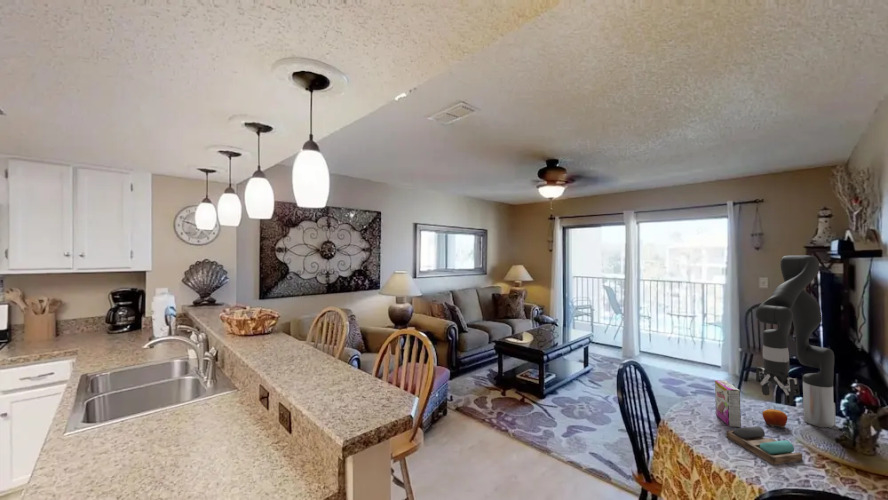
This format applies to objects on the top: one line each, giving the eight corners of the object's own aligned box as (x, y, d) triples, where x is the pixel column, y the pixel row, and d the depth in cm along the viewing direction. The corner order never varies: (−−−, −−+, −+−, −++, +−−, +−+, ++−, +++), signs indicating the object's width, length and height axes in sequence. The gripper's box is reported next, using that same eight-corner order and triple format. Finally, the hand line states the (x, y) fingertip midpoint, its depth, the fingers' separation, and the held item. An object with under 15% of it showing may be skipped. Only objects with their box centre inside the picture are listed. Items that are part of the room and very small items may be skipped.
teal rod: (770, 457, 136) (770, 447, 135) (759, 450, 140) (760, 440, 139) (793, 454, 137) (794, 444, 137) (782, 447, 141) (783, 437, 140)
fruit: (769, 426, 156) (764, 406, 160) (762, 428, 162) (758, 409, 166) (794, 429, 153) (788, 409, 156) (786, 431, 159) (781, 411, 163)
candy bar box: (715, 415, 171) (714, 379, 170) (727, 415, 170) (726, 380, 169) (728, 427, 160) (727, 389, 159) (741, 427, 159) (740, 389, 158)
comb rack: (752, 434, 153) (752, 428, 153) (802, 460, 134) (802, 453, 134) (726, 437, 152) (726, 431, 152) (773, 464, 133) (773, 457, 133)
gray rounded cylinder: (758, 437, 150) (753, 426, 152) (766, 437, 147) (762, 426, 149) (735, 439, 149) (731, 428, 151) (744, 439, 146) (739, 428, 147)
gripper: (749, 353, 148) (750, 393, 148) (786, 364, 134) (788, 409, 134) (765, 351, 149) (767, 390, 149) (804, 362, 135) (806, 406, 135)
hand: (777, 399), depth 142 cm, fingers open, 8 cm apart
